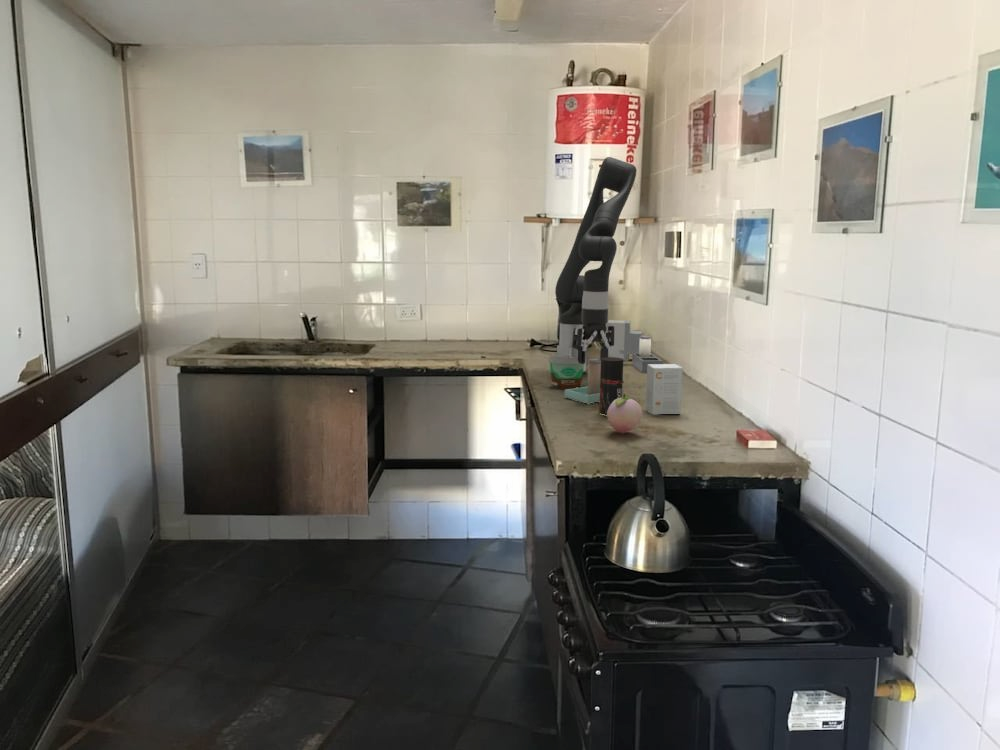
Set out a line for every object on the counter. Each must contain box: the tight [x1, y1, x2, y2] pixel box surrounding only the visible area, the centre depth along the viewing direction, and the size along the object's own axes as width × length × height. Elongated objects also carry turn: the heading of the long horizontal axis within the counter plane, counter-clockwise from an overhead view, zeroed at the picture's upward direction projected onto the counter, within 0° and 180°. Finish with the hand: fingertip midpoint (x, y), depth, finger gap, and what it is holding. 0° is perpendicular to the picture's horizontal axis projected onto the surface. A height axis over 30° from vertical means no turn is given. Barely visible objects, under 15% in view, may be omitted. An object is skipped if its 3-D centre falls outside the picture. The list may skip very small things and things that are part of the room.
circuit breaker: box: [607, 319, 643, 362], centre depth 296 cm, size 8×14×15 cm, turn 78°
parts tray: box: [564, 386, 624, 403], centre depth 234 cm, size 14×10×2 cm
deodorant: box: [598, 357, 624, 415], centre depth 214 cm, size 6×6×15 cm
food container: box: [547, 355, 587, 389], centre depth 249 cm, size 12×6×10 cm, turn 105°
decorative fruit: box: [606, 393, 643, 434], centre depth 194 cm, size 9×8×10 cm
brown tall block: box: [586, 358, 601, 395], centre depth 233 cm, size 4×4×11 cm
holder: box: [631, 334, 664, 374], centre depth 278 cm, size 16×7×12 cm, turn 3°
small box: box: [645, 363, 684, 415], centre depth 216 cm, size 8×6×13 cm
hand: (592, 362), depth 233 cm, fingers open, 8 cm apart
